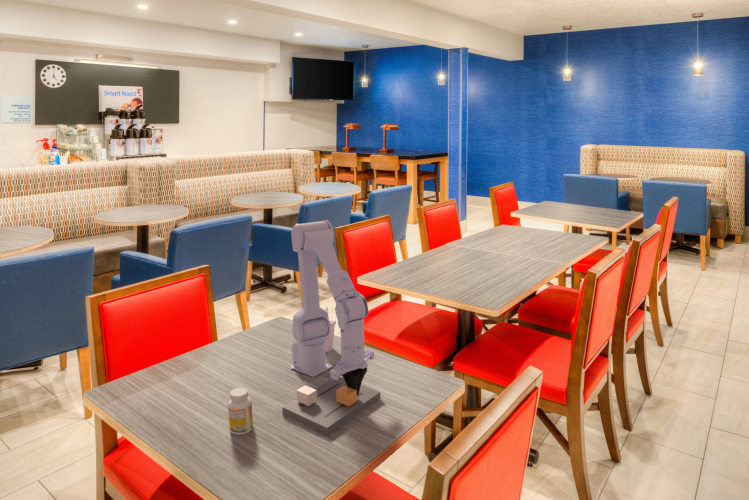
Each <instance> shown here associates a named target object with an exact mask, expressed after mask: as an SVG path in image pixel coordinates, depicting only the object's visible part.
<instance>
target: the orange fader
mask: <svg viewBox="0 0 749 500" xmlns="http://www.w3.org/2000/svg"><path fill="white" fill-rule="evenodd" d="M336 399H337V402H339V403H342V404H344V405H346V406H350V405H352V404H354V403H355V402H357V391H356V390H354V389H352V388H349V387H347V386H343V387H341V388H339V389H338V390H336Z"/></svg>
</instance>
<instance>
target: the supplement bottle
mask: <svg viewBox="0 0 749 500" xmlns="http://www.w3.org/2000/svg"><path fill="white" fill-rule="evenodd" d="M229 398H230V399H229V401H228V402H227V410H228V411H227V412H228V423H229V431H230V433H232V434H234V435H235V436H241V435H242V436H243V435H246V434H248V433H250V432H251V431H252V430H253V427H254V417H253V416H254V415H253V406H252V405H253V404H252V399H251V398H250V397H249V391H248V389H247V388H245V387H237V388H234V389H232V390H231V391H230V393H229Z"/></svg>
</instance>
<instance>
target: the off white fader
mask: <svg viewBox="0 0 749 500" xmlns="http://www.w3.org/2000/svg"><path fill="white" fill-rule="evenodd" d="M296 399H297V401H298V402H300V403H303V404H305V405H307V406H310V405H311V404H313V403H315V402H316V401H317V390H315V389H314V388H313V387H310V386H307V385H305V384H304V385H303V386H302V387H300V388H298V389H296Z"/></svg>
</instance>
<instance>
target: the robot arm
mask: <svg viewBox="0 0 749 500" xmlns="http://www.w3.org/2000/svg"><path fill="white" fill-rule="evenodd" d="M290 235H291V246H292V251H293V252H294V253H295V252H296V253H297V258H298V271H299V285H300V296H301V307H300V309H298V310H297V311H296V312H295V313H294V314H293V316H292V327H291V330H292V331H291V332H292V336H293V339H294V340H293V342H292V345H291V352H292V353H291V355H292V365H291V366H290V368H291V369H292V370H295V371H297V372H299V373H303V374H304V375H307V376H310V377H313V378H315V377H317V376H318V375H320V374H322V373H324V372H326V371H328V370H329V369H331V368H332V369H331V370H330V371H329V372H330V373H329V374H330V379H334V380H338V379H339V377H342V378H344V380H345V382H346V385H347V387H349V388H352V389H354V390H356V391H357V395H359V391H360V387H361V385H362V383H363V379H364V378H365V375H366V374H367V372H368V366H369V365H368V361H370V360H371V361H372V360H374V359H375V351H373V350H370V349H367V350H365V325H364V324H365V323H364V322H365V320H364V319H366V318H367V317H368V315H369V306H368V305H369V304H368V303H367V302H368V301H367V300H366V298H365V296H364V295H362V294H361V293H360V291H357V290H356V288H355V286H354V283H353V281H352V280H351V277H350V275H349V273H348V272H347V271H346V270H343V269H342V267H341V265H340V262H339V259H338V256H337V253H336V250H335V248H334V245H333V243H334V237H335V236H334V227H333V226H332V223H331V222H330V220H328V219H326V220H325V219H324V220H320V221H313V222H305V223H295V224H294V225H293V227H292V229H291V232H290ZM317 258H318V259H319V261H320V263H321V264H322V267H323V268H324V270H325V271H326V274H327V275H328V276H327V277H326V278H327V279H326V284H327V287H328V288H329V290H330V293H331V296H332V297H333V300H334V303H335V307H334V311H335V315H336V319H337V326H338V328H339V330H340V356H341V359H340V361H339V362H338V363H337V364H336V365H335V366H334V368H333V364H330V363H327V362H326V360H327V358H326V352H325V340H327V336H328V335H329V334H330V331H331V325H330V321H329V317H330V316H329V313H327V312H326V309H324V308H322V307H321V305H320V291H319V277H318V260H317Z"/></svg>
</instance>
